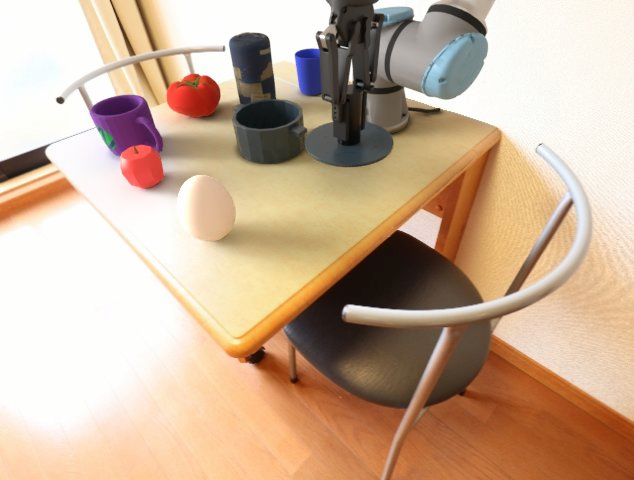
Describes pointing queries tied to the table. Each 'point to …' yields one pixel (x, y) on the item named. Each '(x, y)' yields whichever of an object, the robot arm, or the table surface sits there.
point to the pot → (269, 130)
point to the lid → (350, 139)
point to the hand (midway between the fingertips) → (349, 132)
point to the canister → (252, 67)
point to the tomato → (194, 95)
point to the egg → (205, 208)
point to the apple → (142, 166)
